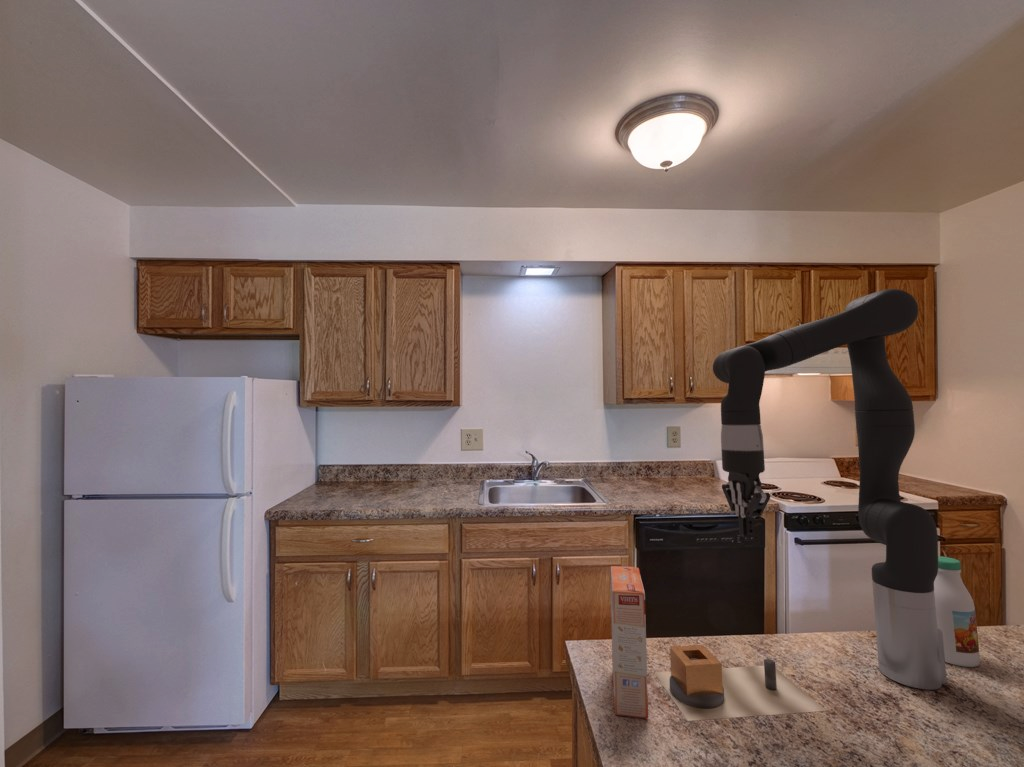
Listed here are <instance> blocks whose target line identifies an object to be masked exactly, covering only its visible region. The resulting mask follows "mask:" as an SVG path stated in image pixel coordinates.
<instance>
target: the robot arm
mask: <svg viewBox="0 0 1024 767" xmlns="http://www.w3.org/2000/svg"><path fill="white" fill-rule="evenodd" d="M918 315H919V305H918V302H917V300H916V298H914V296H913V295H911V294H910V293H909V292H908V291H905V290H902V289H898V288H897V289H896V288H889V289H887V288H886V289H881V290H879V291H874V292H872V293H869V294H867V295H863V296H860V297H858V298H855V299H853V300H852V301H850V302H849V303H848V304H847V305H846V307H845V309H844V311H842V312H839V313H836V314H833V315H830V316H828V317H824V318H821V319H818V320H814V321H810V322H806V323H803V324H800V325H797V326H793V327H791V328H790V327H789V328H786V329H784V330H781V331H779V332H776V333H773V334H770V335H768V336H766V337H763V338H762V339H760V340H758V341H753V342H751V343H748V344H745V345H741V346H737V347H735V348H731V349H727V350H724V351H722V352H721V353H719V354H718V355H717V356H716V357H715V359H714V361H713V363H712V372H713V374H714V376H715V377H716V379H718V381H721V382H723V383H725V384H728V387H727V389H728V390H727V394H726V395H725V396H724V397H723V398H721V401H720V421H721V429H720V431H721V432H720V445H721V446H720V447H721V449H720V450H721V465H722V467H721V469H722V471H724V472H726V473H728V477H727V481H728V482H727V483H726V484H725V483H724V484H723V483H722V485H721V489H722V491H723V494H724V497H725V499H726V501H727V503H728V505H729V508H730V510H731V512H735V515H736V516H737V517H738V518H737V519H738V532H739V536H741V537H743V538H745V539H747V538H748V539H749V538H754V537H755V518H756V517H762V515H763V514H764V511H765V509H766V507H767V506H768V504H769V501H770V500H771V495H770V492H764V490H763V489H762V488H761V487H762V481H761V479H760V474H762V473H764V472H765V470H766V467H765V451H764V447H765V446H764V437H763V436H764V434H763V431H762V425H761V424H762V423H761V408H760V402H761V397H762V393H763V387H764V383H765V382H764V381H765V377H766V376H765V374H766V372H768V371H773V370H779V369H782V368H786V367H788V366H792V365H795V364H797V363H801V362H803V361H806V360H808V359H811V358H813V357H816V356H819V355H821V354H823V353H826V352H828V351H831V350H833V349H837V348H839V347H842V346H845V345H846V346H847V352H848V356H849V361H850V368H851V369H850V370H851V377H852V378H851V379H852V387H853V394H854V395H853V397H854V398H853V399H854V414H855V415H854V416H855V426H856V429H855V430H856V436H857V437H856V438H857V444H858V445H857V449H858V450H857V451H858V465H859V466H858V467H859V488H858V506H857V508H858V510H857V512H858V516H857V517H858V523H859V525H860V526H859V527H860V528H861V531H863V533H864V534H865V535H866V536H867V537H868V538H869V539H870V540H873V541H874V542H876V543H878V544H881V545H883V546H885V560H884V561H883V562H876V563H874V564H873V565H871V566H872V567H871V578H872V579H871V582H872V594H873V608H874V610H873V611H874V623H875V635H876V649H877V650H876V652H877V661H878V662H877V663H878V670H879V672H880V673H882V675H884V676H886V678H888V679H890V680H892V681H895V682H896V683H899V684H902V685H903V686H907V687H910V688H915V689H921V690H931V691H932V690H938V689H940V688H942V685H944V684H947V683H948V682H947V681H948V680H947V670H946V662H945V655H944V643H943V633H942V631H941V630H940V629H938V628H937V618H936V606H935V595H934V581H935V578H936V576H937V573H938V556H939V536H938V529H937V525H936V523H935V520H934V518H933V516H932V515H931V513H930V512H929V511H928V510H926V509H925V508H923V507H922V506H919V505H917V504H913V503H909V502H904V501H901V496H900V486H899V477H900V476H899V475H900V470H901V467H902V465H903V462H904V460H905V459H906V457H907V455H908V452H909V450H910V449H911V447H912V444H913V443H914V439H915V433H916V428H915V427H916V426H915V424H916V423H915V415H914V414H915V412H914V404H913V401H912V398H911V396H910V394H909V393H908V391H907V389H906V387H905V386H904V385H903V383H902V382H901V381H900V379H899V378H898V377H897V375H896V373H895V372H894V371H893V369H892V368H891V366H890V363H889V360H888V357H887V349H886V337H888V336H889V337H890V336H893V335H896V334H899V333H902V332H905V331H906V330H907V329H909V328H910V327H912V325H913V324H914V323H915V322H916V320H917V317H918Z"/></svg>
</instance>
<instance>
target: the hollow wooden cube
mask: <svg viewBox="0 0 1024 767" xmlns="http://www.w3.org/2000/svg"><path fill="white" fill-rule="evenodd" d="M669 653H670V655H669V656H670V658H669V660H670V672H671V675H672V677H673V678H674V679H675V681H676V682H677V683H678V685H679V686H680V687H681V689H682V690H683V691H684V693H685V694H686V695H687V696H695V695H710V694H723V684H722V668H723V666H722V662H721V661H720V660H719V659H718V658H717V657H716V656H715V655H714V654H713V653H712V652H711V651H710V650H709V649H708V648H707V647H706V646H705V645H704V644H697V645H696V644H695V645H680V646H669ZM691 658H696V659H699V660H690V659H691Z"/></svg>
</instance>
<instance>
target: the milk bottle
mask: <svg viewBox="0 0 1024 767" xmlns="http://www.w3.org/2000/svg"><path fill="white" fill-rule="evenodd" d="M961 569H962V564H961V561H960V560H958V559H956V558H951V557H947V556H940V555H938V573H937V576H936V578H935V581H934V595H935V606H936V618H937V628H938V629H940V630H941V631H942V633H943V643H944V655H945V663H947V664H951V665H955V666H958V667H959V666H960V667H966V668H975V667H978V666H980V662H981V659H980V648H979V647H980V646H979V634H978V625H977V624H978V623H977V616H976V608H975V604H974V600H973V597H972V595H971V594H970V592H969V590H968V588H967V587H966V586H965V584H964V582H963V579H962V577H961V573H962V570H961Z"/></svg>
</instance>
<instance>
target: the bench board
mask: <svg viewBox="0 0 1024 767" xmlns="http://www.w3.org/2000/svg"><path fill="white" fill-rule="evenodd" d="M690 660H699V659H696V658H691V659H690ZM653 674H654V675H655V677H656V678H657V679H658V681H659V683H661V685H662V686H663V687H664V689H665V691H666V692H667V694H668V695H669V696H670V698H671V699H672V701H673V702H674V703H675V705H676V707H677V708H678V709H679V711H680V712H681V714H682V715H683V716H684V718H685V720H686V721H687V722H695V721H696V722H697V721H706V720H707V721H711V720H721V719H734V718H736V719H737V718H747V717H748V718H749V717H763V716H764V717H765V716H776V715H777V716H779V715H788V714H789V715H790V714H802V713H803V714H804V713H815V712H819V713H820V712H827V711H828V710H827V709H826V708H824V707H823V706H822V705H821V704H819V703H818V701H817V700H815V699H814V698H812V697H811V696H810V695H809V694H808V693H806V691H804V690H803V689H802V688H801V687H799V686H798V685H797V684H796V683H795V682H793V681H792V680H791V679H790V678H788V677H787V676H786V675H785V673H782V672H781V671H780V670H779V669H778V668H777V667H776V661H774V660H773V659H770V658H765V659H763V665H752V666H737V667H722V684H723V694H710V695H695V696H687V695H686V694H685V693H684V691H683V690H682V689H681V687H680V686H679V685H678V683H677V682H676V681H675V679H674V678H673V677H672V675H671V671H658V672H657V671H656V672H653Z"/></svg>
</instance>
